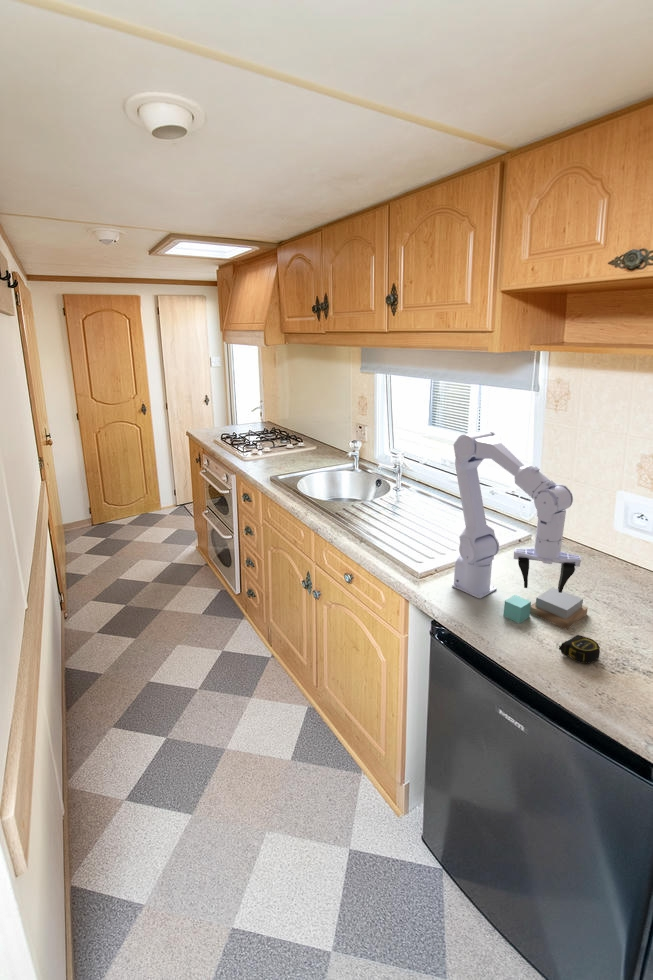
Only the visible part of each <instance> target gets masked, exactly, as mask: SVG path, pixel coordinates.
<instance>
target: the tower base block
mask: <svg viewBox="0 0 653 980" xmlns="http://www.w3.org/2000/svg"><path fill="white" fill-rule="evenodd" d="M535 605H536V601H535V602H534V603H531V607H530V615H534V616H536V617H538V618H540V619H542V620H544V621H547V622H549V623H551V624H554V625H557V626H558V627H561V628H563V629H565V630H568V629H569V628H571V627H572V626H573V625H575V624H576V623H577V622H579V621H580V620H581V619H583V618H584V617H586V616H587V615H588V607H586V606H583V605H582V608H581V609H579V610H578V611H577V612H575V613H574V614H572V615H571V616H570V617H568V618H567V619H564V618H562V617H559V616H557V615H555V614H552V613H550V612H548V611H545V610H543V609H541V608H538V607H536V606H535Z"/></svg>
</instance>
